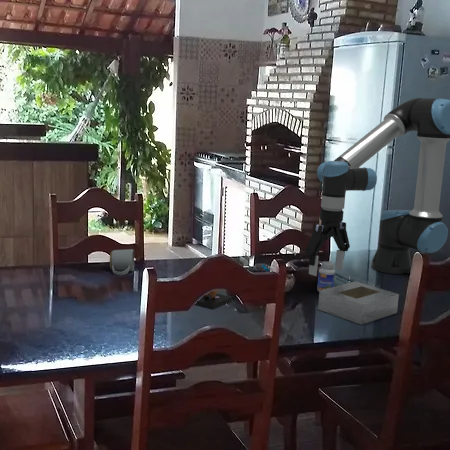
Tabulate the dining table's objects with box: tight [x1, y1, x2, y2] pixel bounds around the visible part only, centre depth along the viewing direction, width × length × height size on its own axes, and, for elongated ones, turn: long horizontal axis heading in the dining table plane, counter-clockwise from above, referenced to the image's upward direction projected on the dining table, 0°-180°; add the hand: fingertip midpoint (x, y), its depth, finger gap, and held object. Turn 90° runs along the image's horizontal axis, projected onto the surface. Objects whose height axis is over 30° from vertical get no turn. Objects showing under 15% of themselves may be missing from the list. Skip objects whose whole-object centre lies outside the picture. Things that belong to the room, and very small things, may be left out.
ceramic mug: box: [109, 248, 135, 276], centre depth 224 cm, size 11×8×8 cm
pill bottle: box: [316, 261, 336, 292], centre depth 213 cm, size 5×5×10 cm
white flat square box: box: [317, 281, 400, 326], centre depth 194 cm, size 18×16×6 cm
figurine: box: [194, 290, 233, 310], centre depth 195 cm, size 10×10×12 cm
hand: (325, 272), depth 212 cm, fingers open, 13 cm apart
